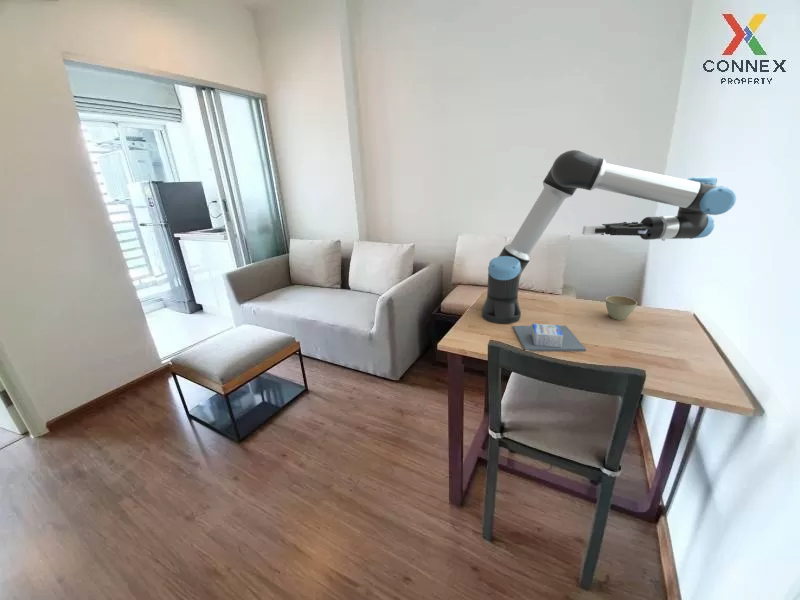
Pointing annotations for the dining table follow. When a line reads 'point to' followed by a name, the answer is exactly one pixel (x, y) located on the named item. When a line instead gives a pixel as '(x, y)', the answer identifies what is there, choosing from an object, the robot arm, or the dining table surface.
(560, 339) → the medicine box
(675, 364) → the dining table surface
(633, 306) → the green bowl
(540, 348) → the slate mat
